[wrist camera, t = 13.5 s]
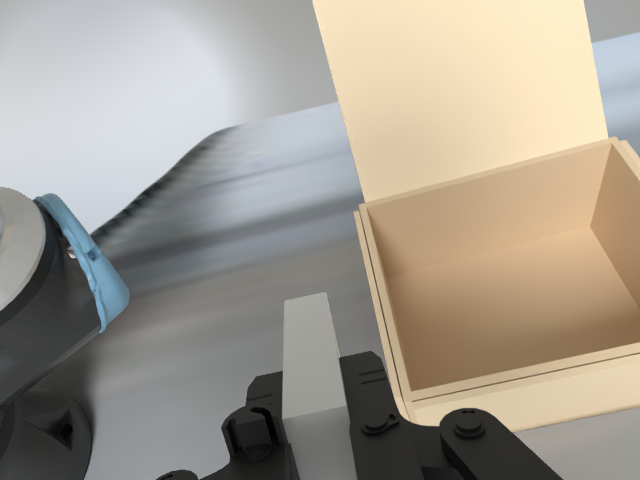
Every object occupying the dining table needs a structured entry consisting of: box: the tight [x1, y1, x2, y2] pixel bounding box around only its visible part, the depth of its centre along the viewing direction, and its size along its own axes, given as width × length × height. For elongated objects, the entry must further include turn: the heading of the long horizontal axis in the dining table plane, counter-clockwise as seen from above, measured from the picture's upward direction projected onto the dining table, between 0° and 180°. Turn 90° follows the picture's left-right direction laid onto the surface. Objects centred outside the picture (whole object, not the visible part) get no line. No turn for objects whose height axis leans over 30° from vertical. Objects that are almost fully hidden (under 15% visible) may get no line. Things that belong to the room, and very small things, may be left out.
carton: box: [354, 136, 640, 432], centre depth 42 cm, size 23×19×12 cm
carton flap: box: [312, 0, 608, 203], centre depth 42 cm, size 21×18×1 cm
